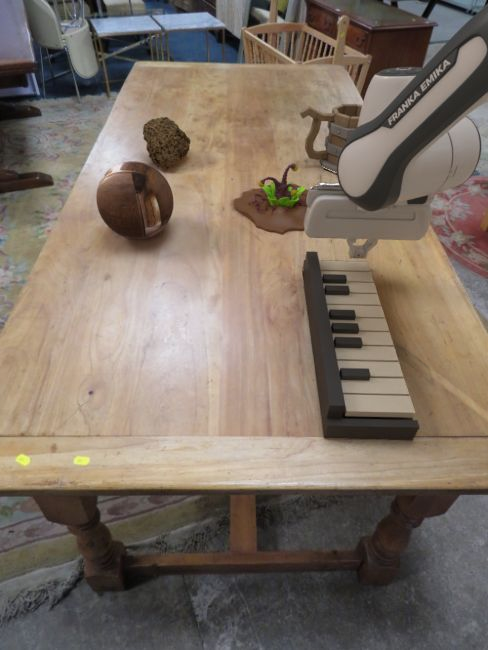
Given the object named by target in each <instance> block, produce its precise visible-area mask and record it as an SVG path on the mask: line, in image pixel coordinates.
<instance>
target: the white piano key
mask: <svg viewBox="0 0 488 650" xmlns="http://www.w3.org/2000/svg"><path fill="white" fill-rule="evenodd" d="M343 396H344V401H345V408H344V414H345V416H357V417H404V418H413V419H414V417H415V414H416V410H415V407H414V404H413V401H412V398H411V397H412V396H411V395H409V396H392V395H345V394H344V395H343Z"/></svg>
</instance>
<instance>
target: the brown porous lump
mask: <svg viewBox="0 0 488 650" xmlns="http://www.w3.org/2000/svg"><path fill="white" fill-rule="evenodd" d="M142 134H143V141H145V142H146V151H147V154H148V157H149V160H150V161H151V162H152V163H153V165H155V166H156V167H157V168H158V169H159V170H161V171H167V170H169V168H170V167H172V166H173V165H174V164H176V163H178V162H179V161H180V160H181V159H183V158H185V157H186V156H187V154H188V153H189V151H190V148H191V141H192V140H191V138H189V137H188V136H187V134H186V132H185V131H183V130H182V129H181V128H180V126H179V125H178V124H177V123H176V122H175V121H174V120H173V119H172V120H171V119H170V118H169V117H168V116H165V117H164V116H161V117H155V118H151V119H150V120H148V121H147V122H146V123H145V124H144V123H143V125H142ZM184 156H185V157H184ZM182 157H183V158H182Z"/></svg>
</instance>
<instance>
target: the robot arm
mask: <svg viewBox="0 0 488 650" xmlns="http://www.w3.org/2000/svg"><path fill="white" fill-rule="evenodd" d="M487 102H488V3H486V4H485V6H483V7H482V8H481V9H480V10H479V11H478V12H477V13H475V14H474V15H473V16H472V17H471V18H470V19H468V21H467V22H465V23H464V24H463V26H461V28H459V30H457V31H456V32H455V34H453V36H452V37H450V39H448V40H447V41H446V42H445V44H444V45H443V46H442V47H441V48H440V49H439V50H438V51H437V52H436V53H435V54H434V55H433V56H432V57H431V59H430V60H429V61H428V62H427V63H426V64H425V65H424V66H423V67H420V66H403V67H401V66H398V67H390V68H384V69H382V70H380V71H379V72H377V73H375V74H374V75H373V77H372V78H371V80H370V82H369V84H368V86H367V89H366V92H365V95H364V98H363V102H362V104H361V105H362V108H361V112H360V116H359V121H358V126H357V128H356V129H354V130H353V131H352V133H351V134H350V135H349V137H348V138H347V140H346V142H345V143H344V145H343V148H342V150H341V152H340V155H339V158H338V163H337V174H336V176H337V177H336V178H337V181H338V182H327V181H320V182H317V184H314V185H312V186H311V187H309V188H308V189H307V190H308V192H307V196H306V204H307V206H308V207H307V210H306V214H305V219H304V233H305V234H306V236H307V237H308V238H310V239H341V240H343V239H344V240H346V244H347V246H348V258H349V259H363V260H364V259H367V257H368V254H369V252H370V251H371V250H372V249H373V248H374V247H376V245H377V244H378V242H379V240H380V241H381V240H383V241H385V240H387V241H421V240H422V239H423V238H425V237H426V235H427V234H428V231H429V228H430V225H431V222H432V216H433V207H432V205H431V204H432V203H433V202H434V200H435V198H436V197H435V196H436V193H440V192H445V191H448V190H451V189H454V188H456V187H459V186H461V185H464V184H465V183H466V182H467V181H468V180H470V179H471V177H472V176H473V174H474V173H475V171H476V169H477V167H478V165H479V162H480V159H481V156H482V155H481V154H482V137H481V133H480V131H479V128H478V126H477V125H476V123H475V122H474V121H473V120H472V118H470V117H469V116H468V115H469V114H471V113H472V112H474V111H475V110H476V109H478V108H479V107H481V106H482V105H484V104H485V103H487ZM357 240H366V241H365V242H364V243H363V244H362V245H361V244H360V245H358V244H357V245H355V243H357Z"/></svg>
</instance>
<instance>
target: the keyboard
mask: <svg viewBox="0 0 488 650" xmlns="http://www.w3.org/2000/svg"><path fill="white" fill-rule="evenodd" d="M319 261H325V260H321V259H319V254H318V251H309V250H308V251H306V252H305V258H304V259H303V264H302V269H303V270H301V271H302V272H301V275H302V283H303V291H304V296H305V305H306V311H307V312H306V313H307V321H308V328H309V336H310V342H311V352H312V358H313V366H314V374H315V381H316V389H317V395H318V396H317V397H318V405H319V411H320V420H321V428H322V432H323V433H322V434H323V439H335V440H336V439H338V440H339V439H341V440H381V441H382V440H385V441H386V440H387V441H413V440H414V439H415V438H416V436H417V433H418V432H419V430H420V428H421V427H420V423H419V420H418V419H414V417H413V418H404V417H357V416H345V414H344V408H345V401H344V396H343V395H344V394H345V395H392V396H410V392H409V389H408V386H407V383H406V380H405V377H404V373H403V371H402V367H401V363H400V361H399V357H398V354H397V351H396V347H395V344H394V341H393V337H392V335H391V333H390V329H389V325H388V323H387V322H388V321H387V319H386V316H385V312H384V310H383V306H382V303H381V300H380V297H379V294H378V290H377V287H376V283H375V281H374V277H373V275H372V272H371V271H370V272H339V271H321V269H320V264H319ZM357 261H358V262H368V261H367V260H365V261H363V260H362V261H361V260H357Z"/></svg>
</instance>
